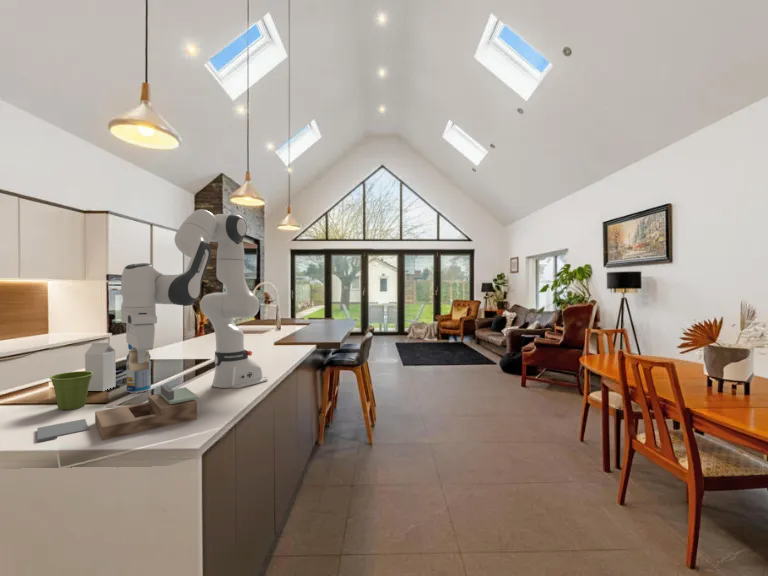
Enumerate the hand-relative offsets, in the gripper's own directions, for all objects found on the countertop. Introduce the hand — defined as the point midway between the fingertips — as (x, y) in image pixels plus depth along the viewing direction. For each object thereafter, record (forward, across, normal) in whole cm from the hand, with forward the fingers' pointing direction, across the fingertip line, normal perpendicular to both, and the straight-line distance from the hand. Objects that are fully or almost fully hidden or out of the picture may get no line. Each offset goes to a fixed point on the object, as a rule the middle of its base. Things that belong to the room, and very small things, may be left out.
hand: (138, 361), depth 116 cm
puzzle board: (+19, 0, +2) cm, 19 cm away
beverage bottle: (+19, -42, +7) cm, 47 cm away
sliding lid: (+13, 0, +11) cm, 17 cm away
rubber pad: (+19, -8, -18) cm, 27 cm away
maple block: (+2, 0, 0) cm, 2 cm away
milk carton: (+19, -54, -4) cm, 57 cm away
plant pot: (+19, -34, -14) cm, 41 cm away
